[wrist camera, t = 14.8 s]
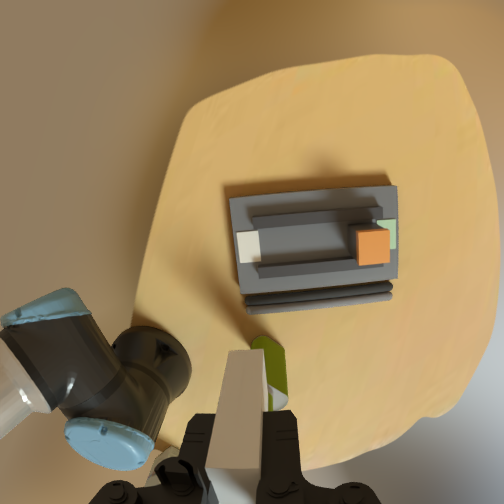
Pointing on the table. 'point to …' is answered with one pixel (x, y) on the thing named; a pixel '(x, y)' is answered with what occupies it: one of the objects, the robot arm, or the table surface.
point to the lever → (369, 243)
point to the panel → (309, 237)
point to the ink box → (166, 454)
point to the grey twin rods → (318, 295)
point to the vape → (274, 371)
